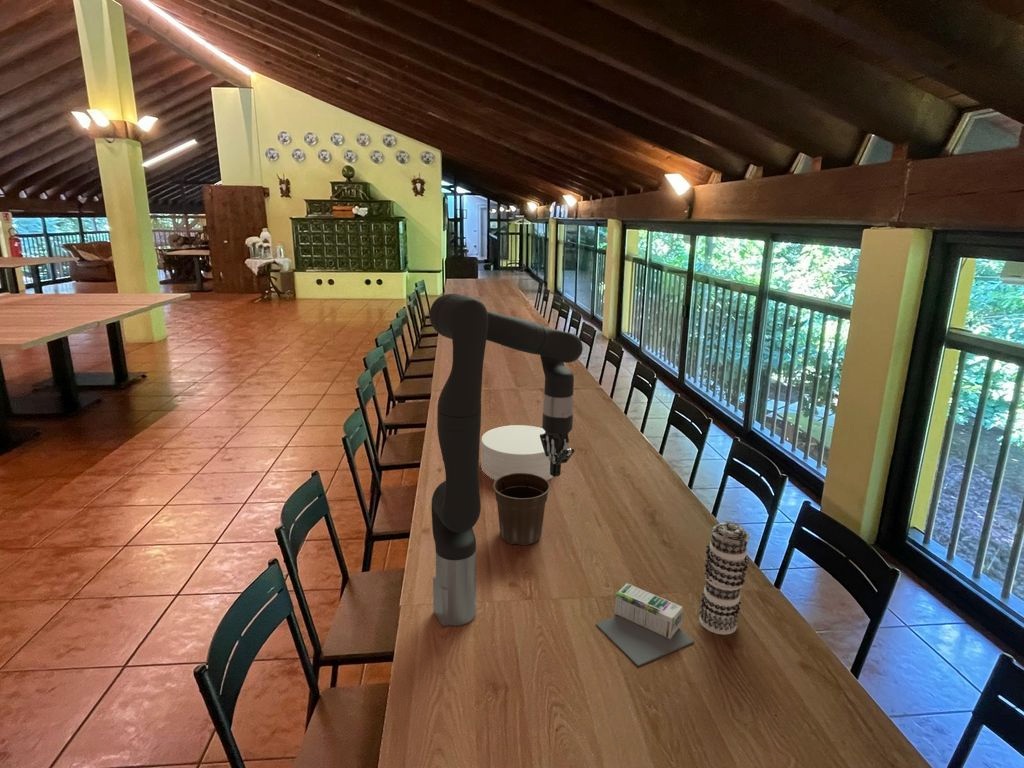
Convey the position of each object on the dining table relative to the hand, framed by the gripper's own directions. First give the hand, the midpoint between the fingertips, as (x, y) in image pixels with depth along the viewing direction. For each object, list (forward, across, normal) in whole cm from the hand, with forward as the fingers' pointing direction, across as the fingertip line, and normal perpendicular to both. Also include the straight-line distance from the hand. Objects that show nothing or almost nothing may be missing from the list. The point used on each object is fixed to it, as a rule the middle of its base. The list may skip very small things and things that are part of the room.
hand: (555, 475), depth 156 cm
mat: (+27, +32, +5) cm, 42 cm away
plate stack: (+28, -60, +23) cm, 70 cm away
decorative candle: (+27, +36, +23) cm, 51 cm away
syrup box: (+24, +22, +6) cm, 33 cm away
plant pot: (+27, -18, +1) cm, 33 cm away
